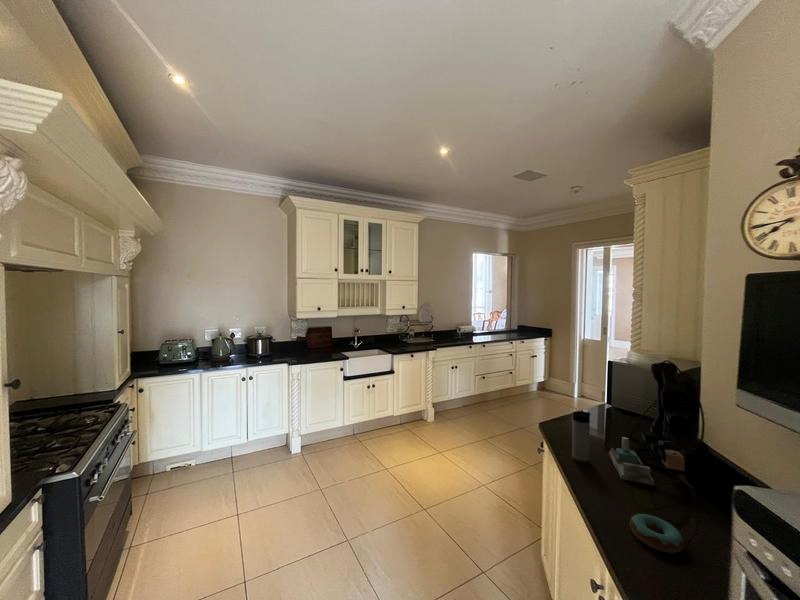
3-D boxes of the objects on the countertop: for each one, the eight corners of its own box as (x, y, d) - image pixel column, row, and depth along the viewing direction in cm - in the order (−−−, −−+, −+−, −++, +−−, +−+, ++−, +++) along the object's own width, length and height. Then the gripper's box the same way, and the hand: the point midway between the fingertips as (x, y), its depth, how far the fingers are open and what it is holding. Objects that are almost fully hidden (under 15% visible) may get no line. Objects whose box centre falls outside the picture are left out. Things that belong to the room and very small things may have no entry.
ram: (633, 457, 129) (633, 438, 129) (637, 463, 124) (637, 444, 124) (615, 454, 132) (616, 435, 132) (619, 460, 127) (619, 441, 127)
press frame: (636, 459, 131) (636, 446, 131) (654, 485, 113) (654, 470, 113) (608, 454, 135) (609, 441, 135) (621, 478, 117) (621, 464, 116)
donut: (636, 547, 84) (636, 533, 84) (624, 519, 95) (624, 506, 95) (692, 563, 80) (693, 548, 80) (673, 531, 91) (674, 518, 91)
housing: (678, 464, 118) (678, 450, 118) (684, 471, 113) (684, 456, 113) (661, 461, 120) (662, 448, 120) (667, 468, 115) (667, 454, 115)
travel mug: (592, 464, 127) (593, 415, 126) (574, 462, 128) (575, 414, 128) (586, 456, 133) (587, 410, 133) (569, 454, 134) (570, 409, 134)
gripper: (650, 426, 113) (650, 468, 113) (718, 435, 106) (717, 481, 106) (640, 415, 123) (640, 454, 123) (701, 423, 116) (700, 464, 116)
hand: (672, 463), depth 117 cm, fingers closed on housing, 5 cm apart
